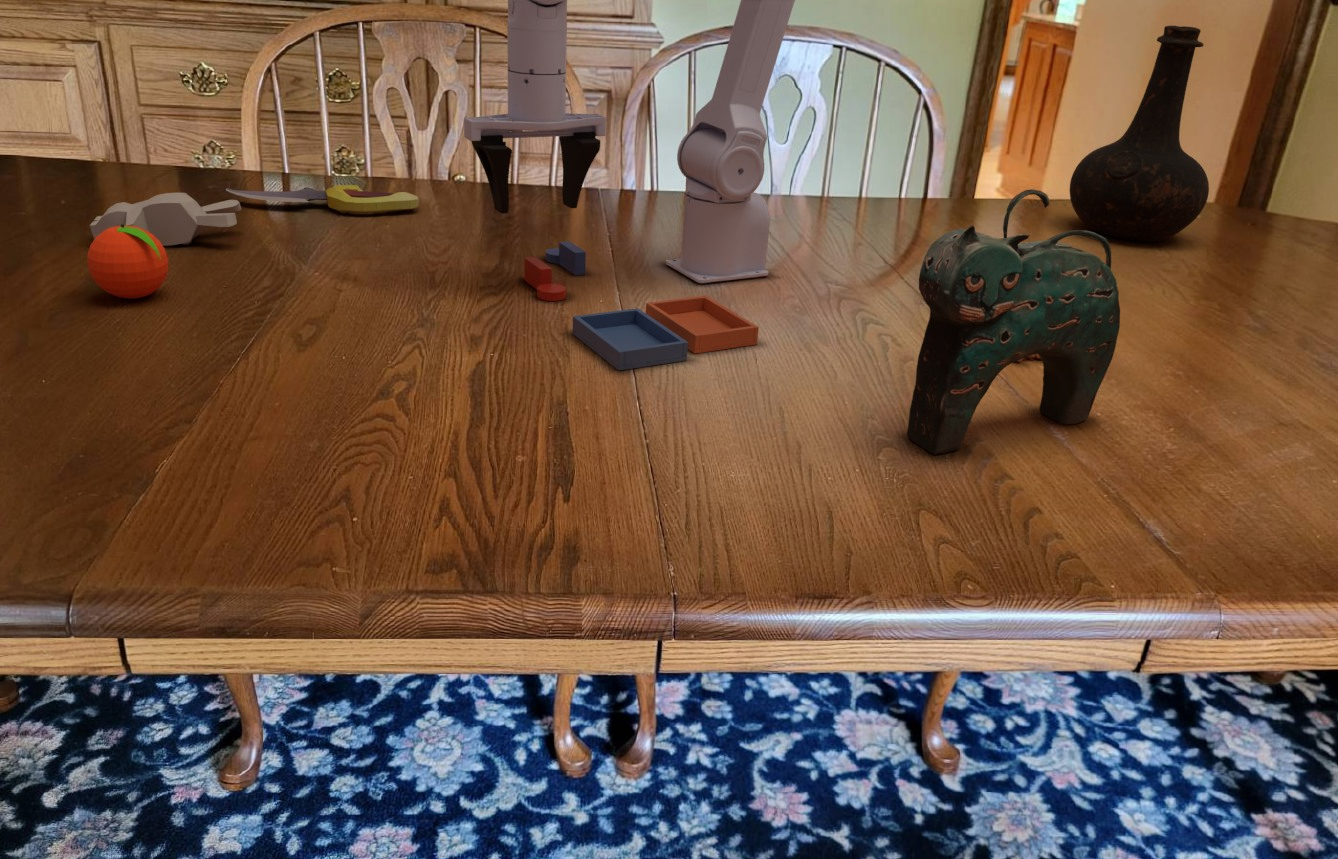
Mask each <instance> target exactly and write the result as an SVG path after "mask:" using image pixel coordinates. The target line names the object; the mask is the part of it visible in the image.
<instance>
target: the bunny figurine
mask: <svg viewBox="0 0 1338 859" xmlns="http://www.w3.org/2000/svg"><path fill="white" fill-rule="evenodd" d="M241 210H242V207H241V203H240V201H238V199H228V200H224V201H223V200H222V201H220V202H219V201H218V202H215V203H211V204H207V205H203V206H200V204H199V203H198V202H197V201H196V200H195V199H194V198H193V197H191V196H190V195H189V194H188V193H186V192H165V193H160V194H156V195H154V196H152V197H151V198H148V199H145V200H142V201H138V202H135V203H129V202H125V201H122V202H116V203H115V204H113V205H111V206H110V207H108V208H107V210H105V212H104V213H103V215H98V216H96V217H95V218H94V219H93V221H92V222H91V223H90V224H89V227H90V232H91V235H92V237H93V240H94V239H95V238H96V237H97V236H98V235H99V234H101V233H102V232H103V231H105V230H106V229H108V228H111V227H116V226H121V224H122V225H124V226H136V227H139V228H142V229H144V230H146V231H147V232H149V233H151V234H153V235H154V236H155V237H156V238H157V239H158V240H159V241H160V242H161V244H162V245H163V247H165V246H176V245H181V244H182V245H184V246H188V245H190V244H191V243H192V241H193V239H194V238H196V237H197V236H198V235H199V234H200V233H201V232H202V231H203V230H204V228H205V227H206V226H207V227H218V228H229V227H233V226H235V225H237V224H238V221H237V216H236V212H238V211H241Z"/></svg>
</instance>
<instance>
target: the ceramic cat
mask: <svg viewBox="0 0 1338 859" xmlns="http://www.w3.org/2000/svg"><path fill="white" fill-rule="evenodd" d="M1030 195H1031V196H1032V195H1033V196H1037V197H1038V198H1039V199H1040V200H1041V202H1042V204H1043V207H1044V209H1046V208H1048V206H1050V198H1049V196H1048V193H1045V192H1043V191H1042V190H1037V189H1034V188H1033V189H1032V188H1031V189H1025V190H1023V191H1021V192H1020V193H1018V194H1016V195H1015V196H1014V197H1013V198H1012V199H1011V200H1010V202H1009V204H1008V206H1007V208H1006V213H1005V216H1004V218H1003V225H1002V232H1003V237H1000V238H999V237H992V236H990V235H987V234H985V233H982V232H979V231H976V228H975V226H974V224H971V225H970V226H969V227H967V228H966V229H964V228H955V229H953V230H950V231H947V232H946V233H944V234H942V235H941V236H940V237H939V238H937V239H936V240H935V241H933V243H932V244H931V245H930V247H929V248H928V250H927V251H926V254H925V255H924V257H923V261H922V264H921V267H920V271H919V276H918V290H919V293H920V295H921V297H922V299H923V300H924V303H925V304H926V305H927V306H928V308H929V318H928V322H927V325H926V328H925V330H924V335H923V338H922V339H923V340H922V343H921V347H920V349H919V353H918V357H917V363H916V368H915V370H916V371H915V384H914V389H913V394H912V398H911V403H910V406H909V415H908V423H907V430H906V431H907V432H906V437H907V438H908V439H909V440H911V441H912V442H913V443H915V444H916V445H917V446H919V447H920V448H922V449H924V450H925V451H927V452H928V453H930V454H932V455H933V456H935V455H940V454H941V455H942V454H947V453H950V452H951V453H952V452H957V451H958V450H960V449H961V448H962V445H963V443H964V439H965V437H966V434H967V432H968V429H969V427H970V424H971V421H972V419H973V416H974V414H975V412H976V409H977V408H978V406H979V404H980V402H981V400H982V399H983V398H984V396H985V395H986V393H987V392H988V390H989V389H990V387H991V385H992V383H993V382H994V380H995V379H996V378H997V376H998V375H999V374H1000V373H1001V372H1002V371H1003V370H1004V369H1005V368H1006V367H1008V366H1009V365H1011V364H1013V363H1016V362H1019V361H1018V360H1020V359H1022V358H1024V359H1025V358H1028V357H1027V356H1030V355H1034V354H1038V355H1039V356H1040V357H1041V358H1040V360H1041V362H1042V365H1043V370H1042V371H1043V373H1042V374H1043V375H1042V376H1043V377H1042V393H1041V398H1040V404H1039V408H1038V409H1039V410H1038V411H1039V412H1040V414H1042V415H1043V416H1046V417H1049V418H1050V419H1051V420H1052V421H1054V422H1056V423H1059V424H1063V425H1075V424H1079V423H1083V422H1084V421H1086V420H1087V419H1088V418H1089V415H1090V413H1091V411H1092V408H1093V405H1094V402H1095V400H1096V396H1097V394H1098V392H1099V390H1100V387H1101V385H1102V383H1103V382H1104V378H1105V376H1106V374H1107V372H1108V369H1109V367H1110V365H1111V362H1112V361H1113V357H1114V354H1115V350H1116V347H1117V341H1118V336H1119V333H1120V326H1121V325H1120V324H1121V306H1120V301H1119V299H1120V298H1119V295H1120V292H1119V287H1118V284H1117V279H1116V277H1115V275H1114V273H1113V271H1112V250H1111V245H1110V243H1109V241H1108V239H1107V238H1106V237H1104V236H1103V235H1100V234H1098V233H1096V232H1095V231H1094V232H1093V231H1089V230H1085V229H1084V230H1083V229H1072V230H1071V229H1070V230H1067V231H1064V232H1061V233H1058V234H1056V235H1054V236H1052V237H1050V238H1047V239H1045V240H1037V241H1036V240H1035V241H1030V242H1029V241H1028V242H1023V241H1026V240H1027V239H1029V237H1030V234H1016V235H1012V236H1009V237H1008V227H1009V221H1010V215H1011V214H1012V211H1013V210H1014V208H1015V207H1016V205H1017V204H1018V203H1019V202H1020V201H1021V200H1022V199H1024V198H1025V197H1027V196H1030ZM1071 236H1081V237H1085V238H1087V239H1088V238H1090V239H1091V240H1092V239H1093V240H1096V241H1097V242H1099V243H1100V244H1101V246H1102V248H1103V249H1104V253H1105V262H1104V261H1103V260H1102V259H1101V258H1100V257H1099V256H1097V255H1095V254H1093V253H1092V252H1089V251H1087V250H1083V249H1080V248H1076V247H1074V246H1072V245H1070V244H1067V243H1062V242H1059V241H1061V240H1063V239H1065V238H1067V237H1071ZM1022 242H1023V243H1022Z"/></svg>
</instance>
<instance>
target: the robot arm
mask: <svg viewBox="0 0 1338 859" xmlns="http://www.w3.org/2000/svg"><path fill="white" fill-rule="evenodd" d="M795 2H796V0H740V2H739V6H738V9H737V13H736V16H735V19H734V23H733V26H732V30H731V32H730V37H729V40H728V43H727V45H726V46H727V47H726V49H725V53H724V56H723V60H722V63H721V67H720V71H719V73H718V77H717V81H716V84H715V87H714V90H713V93H712V97H711V99H710V100H709V101H708V102H707V103H706V104H704V106H703V107H701V109H699V110H698V111H697V112H696V114H695V118H694V120H693V123H692V126H691V127H690V129H689V131H688V132H687V133H686V134H685V136H683V138H682V140H680V143H679V145H678V147H677V148H678V149H677V154H676V160H677V165H678V168H679V171H680V173H681V174H682V175H683V176H684V177H685V190H684V205H683V206H684V207H683V221H682V232H681V233H682V234H681V235H682V236H681V247H680V248H681V249H680V258H671V259H666V260H665V265H666V266H669V267H670V268H672V269H674V270H675V271H677V272H678V273H681V274H683V275H684V276H686V277H687V278H688V279H691V280H693V281H694V282H696V283H698V284H706V283H716V282H725V281H732V280H733V281H734V280H743V279H750V278H759V277H767V276H769V271H768V270H766V262H767V253H768V245H769V244H768V243H769V236H770V235H769V234H770V226H771V225H770V224H771V215H770V210H769V206H768V203H767V201H766V200H765V198H764V197H763V196H762V195H761V194H759V193H757V192H756V190H757V189H758V188H759V186H760V185H761V182H762V181H763V177H764V175H765V174H764V173H765V158H764V155H765V154H764V153H765V147H766V144H767V140H768V134H767V131H766V128H765V125H764V123H763V120H762V118H761V110H762V107H763V105H764V101H765V98H766V94H767V91H768V89H769V85H770V82H771V79H772V75H773V72H774V69H775V66H776V62H777V60H778V56H779V53H780V50H781V47H782V43H783V40H784V37H785V35H786V34H785V33H786V30H787V28H788V24H789V21H790V18H791V14H792V11H793V8H794V4H795ZM567 18H568V0H507V21H506V26H507V27H506V30H507V37H506V38H507V39H506V41H507V43H506V44H507V45H506V46H507V49H506V50H507V51H506V52H507V113H501V114H492V115H491V114H490V115H482V116H467V117H463V137H464V139H467V140H468V141H470V142H471V145H472V148H473V149H474V151H475V153H476V155H477V157H478V159H479V161H480V163H481V166H482V168H483V170H484V173H485V176H486V179H487V182H488V185H489V189H490V192H491V196H492V201H493V206H494V207H493V208H494V210H495V211H497V212H499V213H500V214H509V208H510V206H509V205H510V197H509V195H510V194H509V177H510V176H509V175H510V168H511V167H510V166H511V160H512V154H513V153H512V152H513V149H512V148H511V147H509V146H507V142H506V141H504V139H525V138H549V137H554V138H555V137H558V138H559V144H560V151H561V152H560V153H561V161H562V194H561V196H562V204H563V205H564V206H566V207H568V208H569V209H577V208H578V204H579V201H580V200H579V199H580V195H581V192H582V189H583V186H584V182H585V180H586V177H587V174H588V172H589V170H590V168H591V166H592V164H593V163H594V160H595V158H596V157H597V155H598V153H599V152H600V150H601V139H598V138H597V137H605V136H606V132H607V131H606V130H607V117H606V116H605V115H601V114H599V113H571V112H570V113H569V112H568V113H566V110H567V108H566V106H567V104H566V101H567V50H568V49H567V45H568V44H567V42H568V41H567V40H568V37H567V36H568V20H567Z"/></svg>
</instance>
